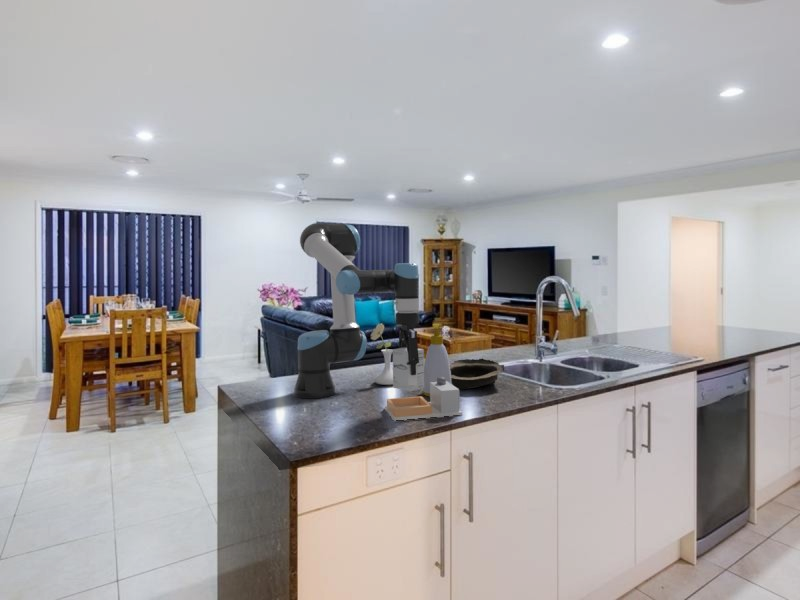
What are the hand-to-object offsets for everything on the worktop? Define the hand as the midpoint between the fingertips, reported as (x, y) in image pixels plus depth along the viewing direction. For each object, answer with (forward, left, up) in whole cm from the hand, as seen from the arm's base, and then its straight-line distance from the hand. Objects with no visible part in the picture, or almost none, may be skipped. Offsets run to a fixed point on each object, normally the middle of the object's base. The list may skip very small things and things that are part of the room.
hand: (408, 381), depth 152 cm
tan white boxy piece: (+4, 0, -10) cm, 11 cm away
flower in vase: (+1, +41, -11) cm, 42 cm away
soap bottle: (+16, +20, -11) cm, 28 cm away
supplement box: (0, 0, -2) cm, 2 cm away
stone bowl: (+33, +28, -11) cm, 45 cm away
